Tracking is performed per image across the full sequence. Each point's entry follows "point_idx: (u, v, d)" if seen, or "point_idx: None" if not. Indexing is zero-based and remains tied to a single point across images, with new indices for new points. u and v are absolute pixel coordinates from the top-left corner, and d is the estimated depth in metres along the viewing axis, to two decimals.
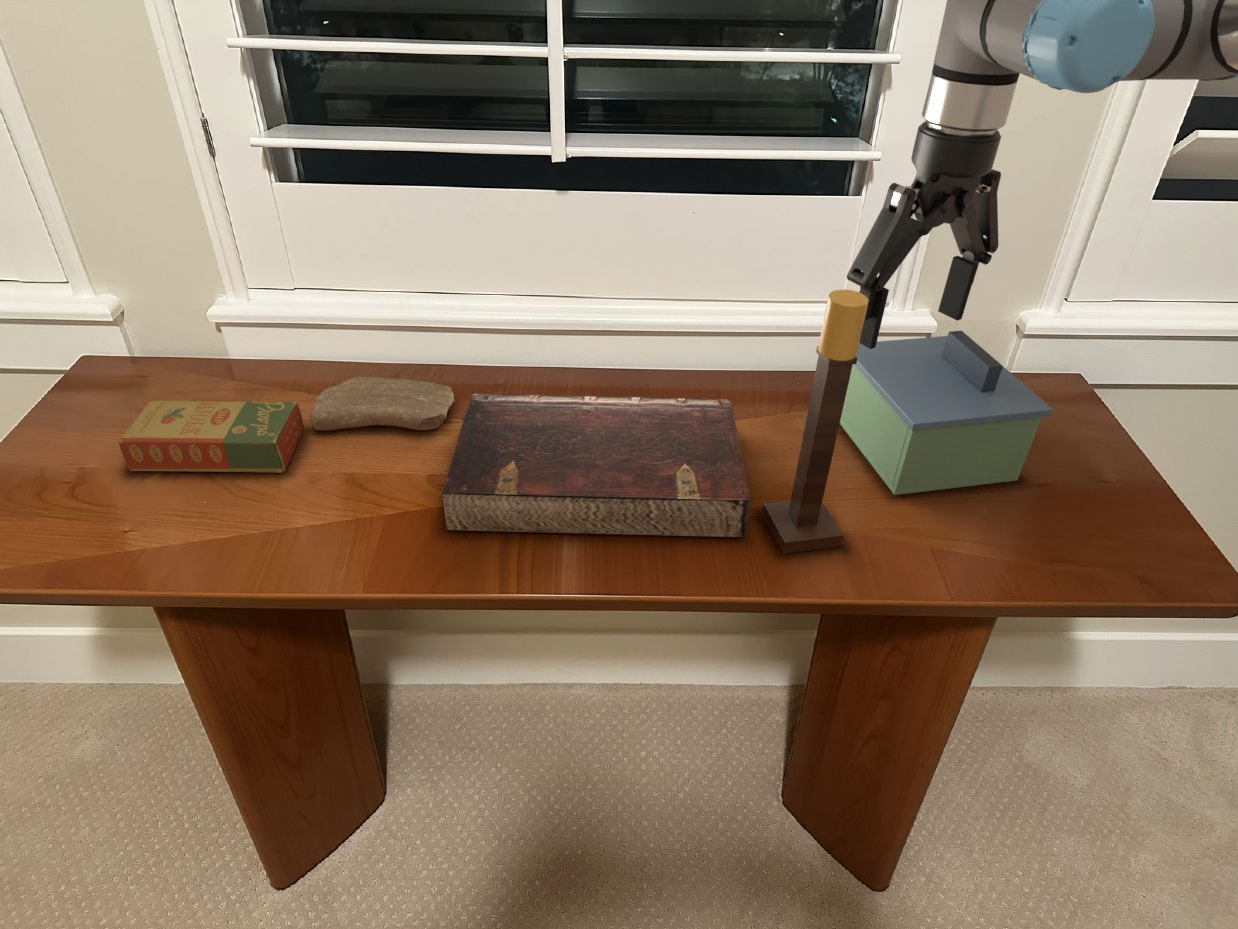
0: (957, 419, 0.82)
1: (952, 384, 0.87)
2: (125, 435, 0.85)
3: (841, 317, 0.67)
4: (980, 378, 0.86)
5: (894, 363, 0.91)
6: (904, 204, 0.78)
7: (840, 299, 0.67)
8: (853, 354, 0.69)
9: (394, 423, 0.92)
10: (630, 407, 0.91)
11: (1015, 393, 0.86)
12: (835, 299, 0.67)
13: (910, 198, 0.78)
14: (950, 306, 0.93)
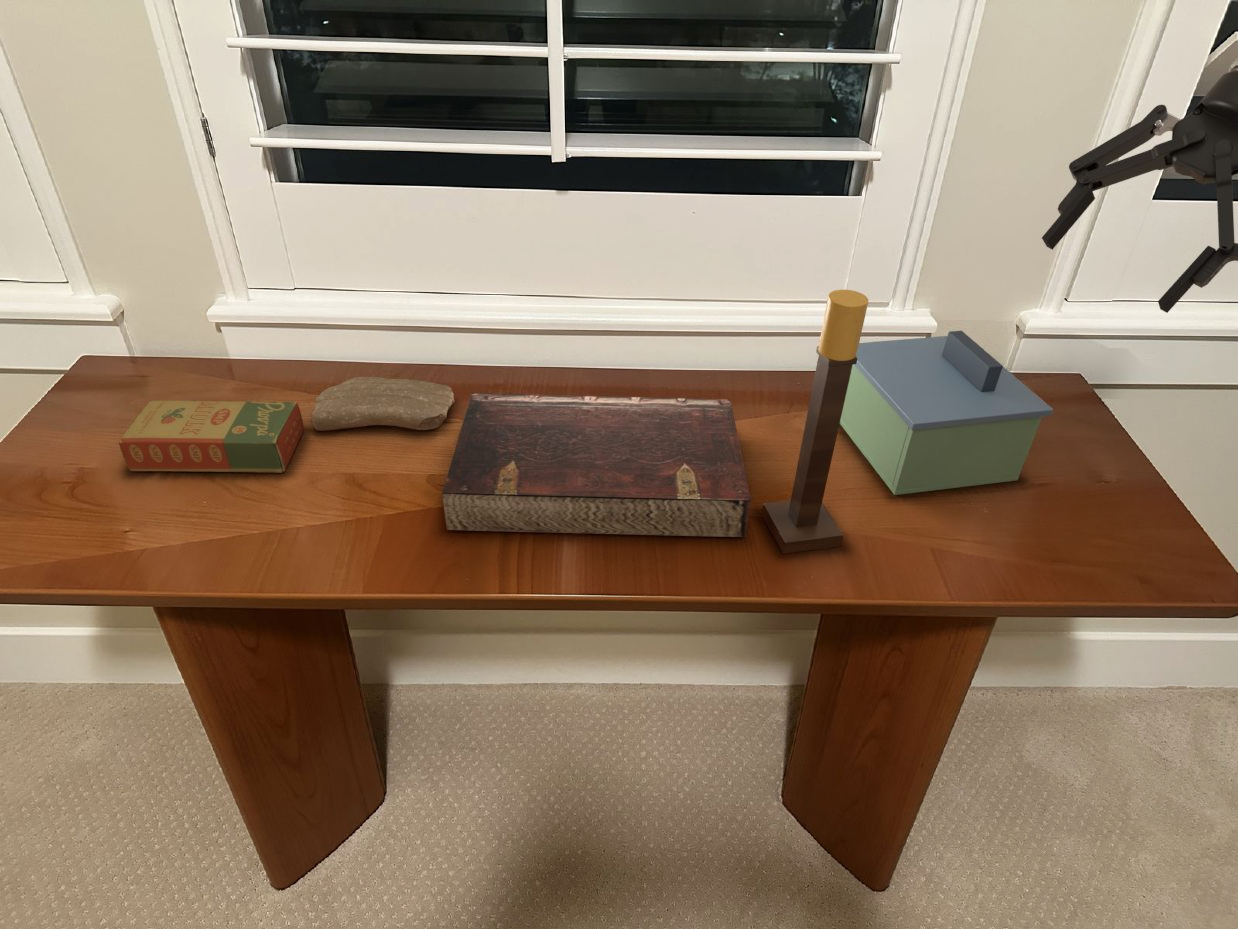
0: (957, 419, 0.82)
1: (952, 384, 0.87)
2: (125, 435, 0.85)
3: (841, 317, 0.67)
4: (980, 378, 0.86)
5: (894, 363, 0.91)
6: (1149, 113, 0.85)
7: (840, 299, 0.67)
8: (853, 354, 0.69)
9: (394, 423, 0.92)
10: (630, 407, 0.91)
11: (1015, 393, 0.86)
12: (835, 299, 0.67)
13: (1156, 110, 0.84)
14: None
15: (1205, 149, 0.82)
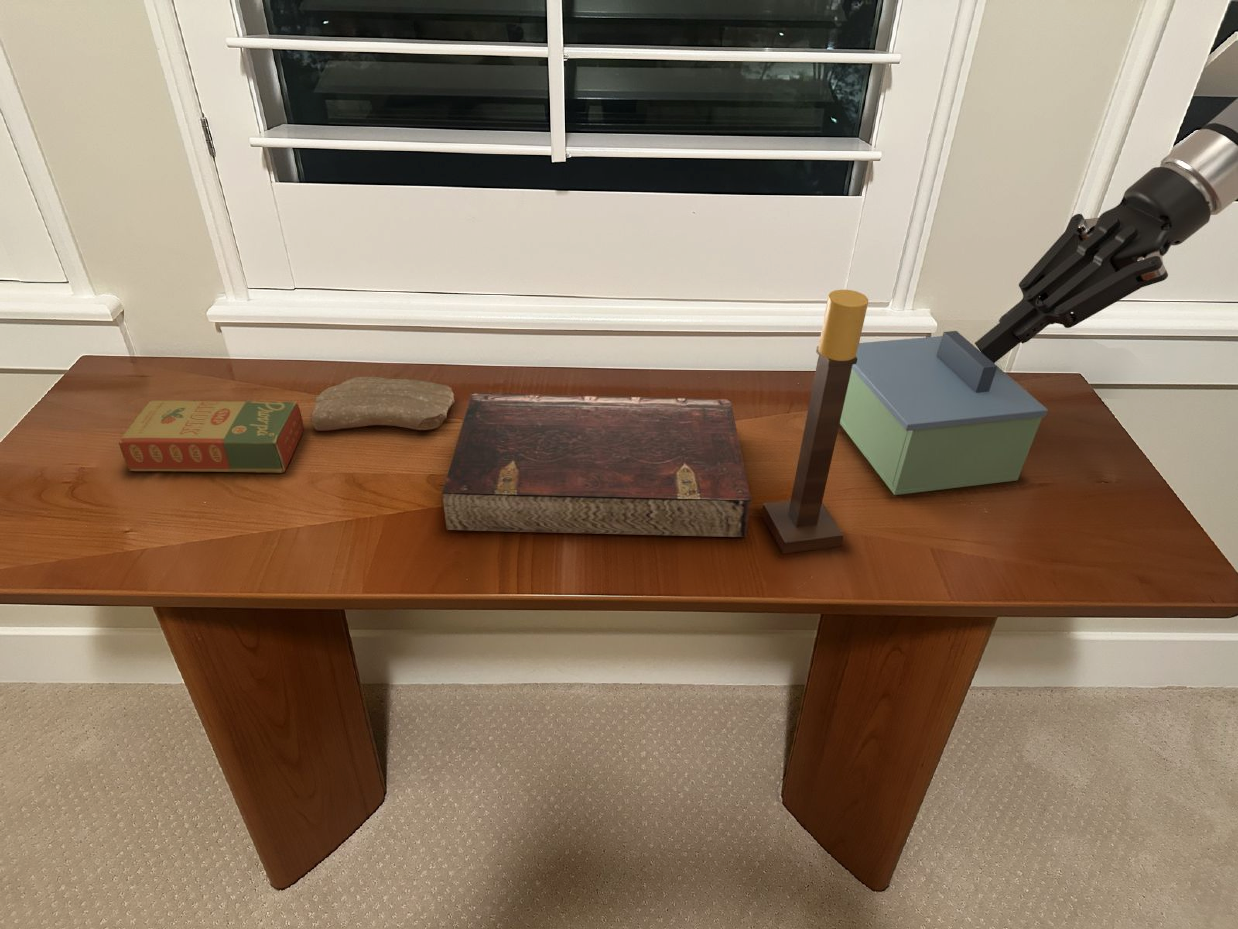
0: (951, 419, 0.82)
1: (947, 384, 0.87)
2: (125, 435, 0.85)
3: (841, 317, 0.67)
4: (974, 379, 0.86)
5: (888, 364, 0.90)
6: (1068, 224, 0.88)
7: (840, 299, 0.67)
8: (853, 354, 0.69)
9: (394, 423, 0.92)
10: (630, 407, 0.91)
11: (1010, 394, 0.86)
12: (835, 299, 0.67)
13: (1074, 219, 0.88)
14: None
15: None
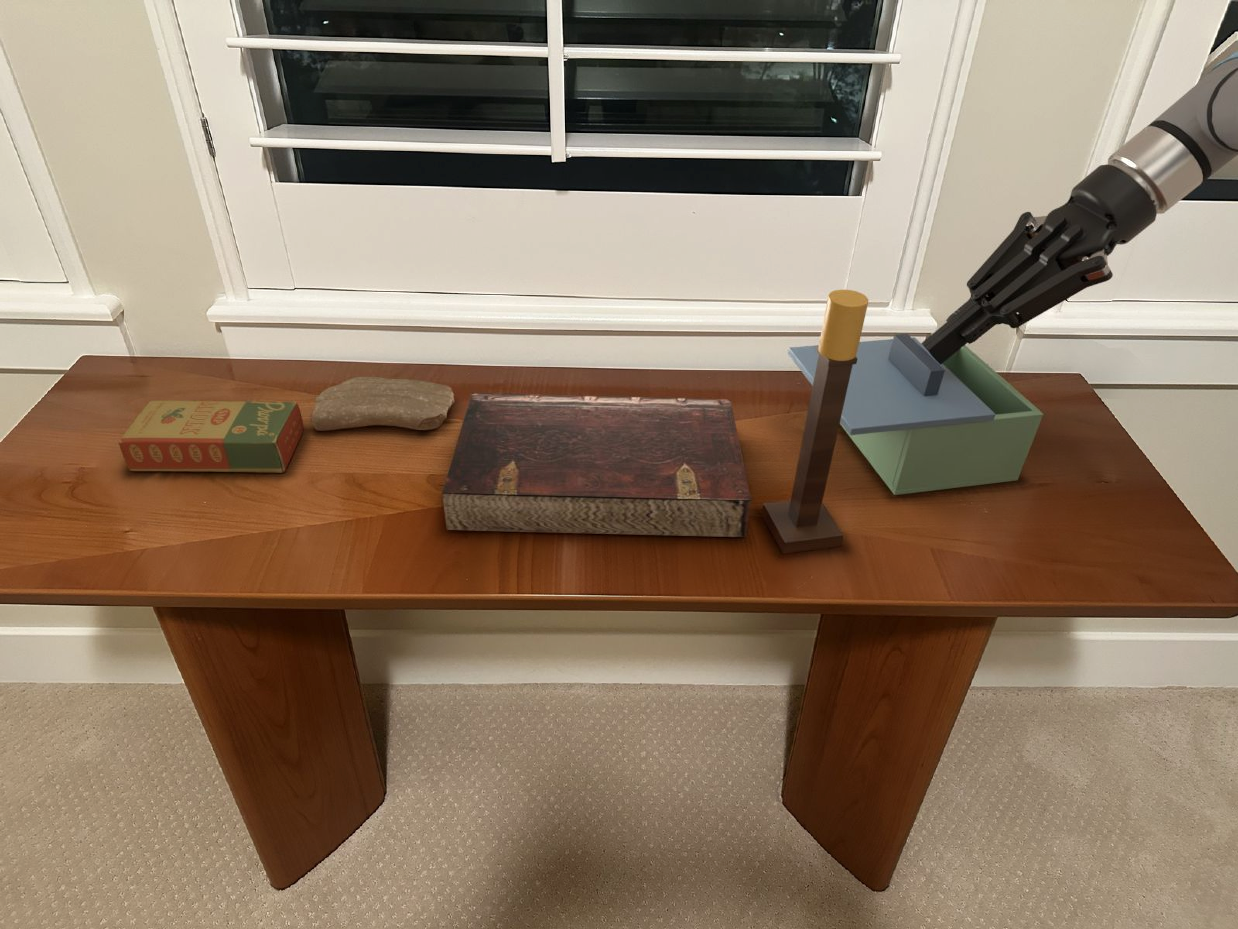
0: (896, 424, 0.81)
1: (895, 388, 0.86)
2: (125, 435, 0.85)
3: (841, 317, 0.67)
4: (922, 382, 0.85)
5: None
6: (1017, 222, 0.87)
7: (840, 299, 0.67)
8: (853, 354, 0.69)
9: (394, 423, 0.92)
10: (630, 407, 0.91)
11: (958, 397, 0.85)
12: (835, 299, 0.67)
13: (1023, 217, 0.86)
14: None
15: None
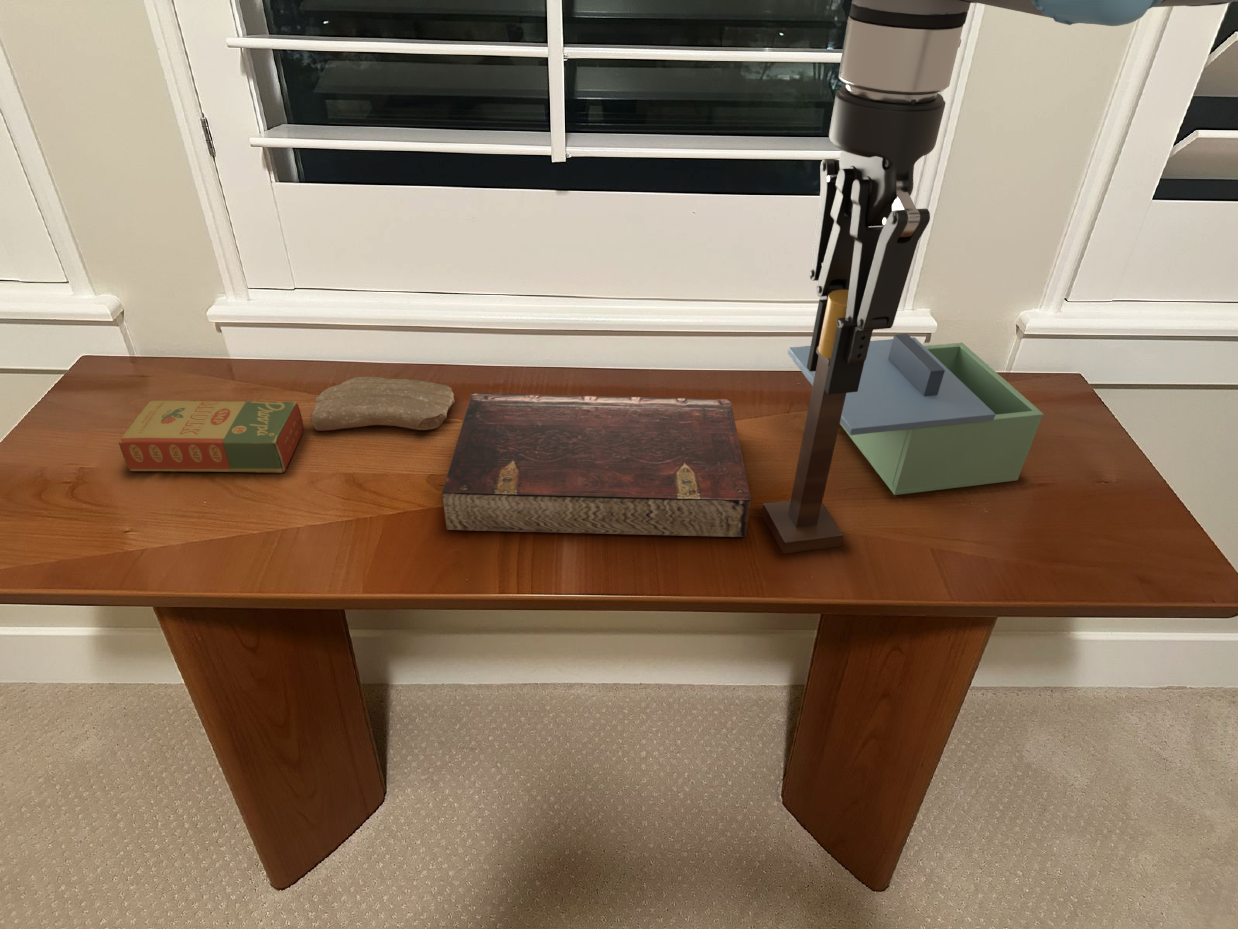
0: (896, 424, 0.81)
1: (895, 388, 0.86)
2: (125, 435, 0.85)
3: (841, 317, 0.67)
4: (922, 382, 0.85)
5: None
6: None
7: (840, 299, 0.67)
8: None
9: (394, 423, 0.92)
10: (630, 407, 0.91)
11: (958, 397, 0.85)
12: (835, 299, 0.67)
13: (822, 169, 0.67)
14: None
15: None
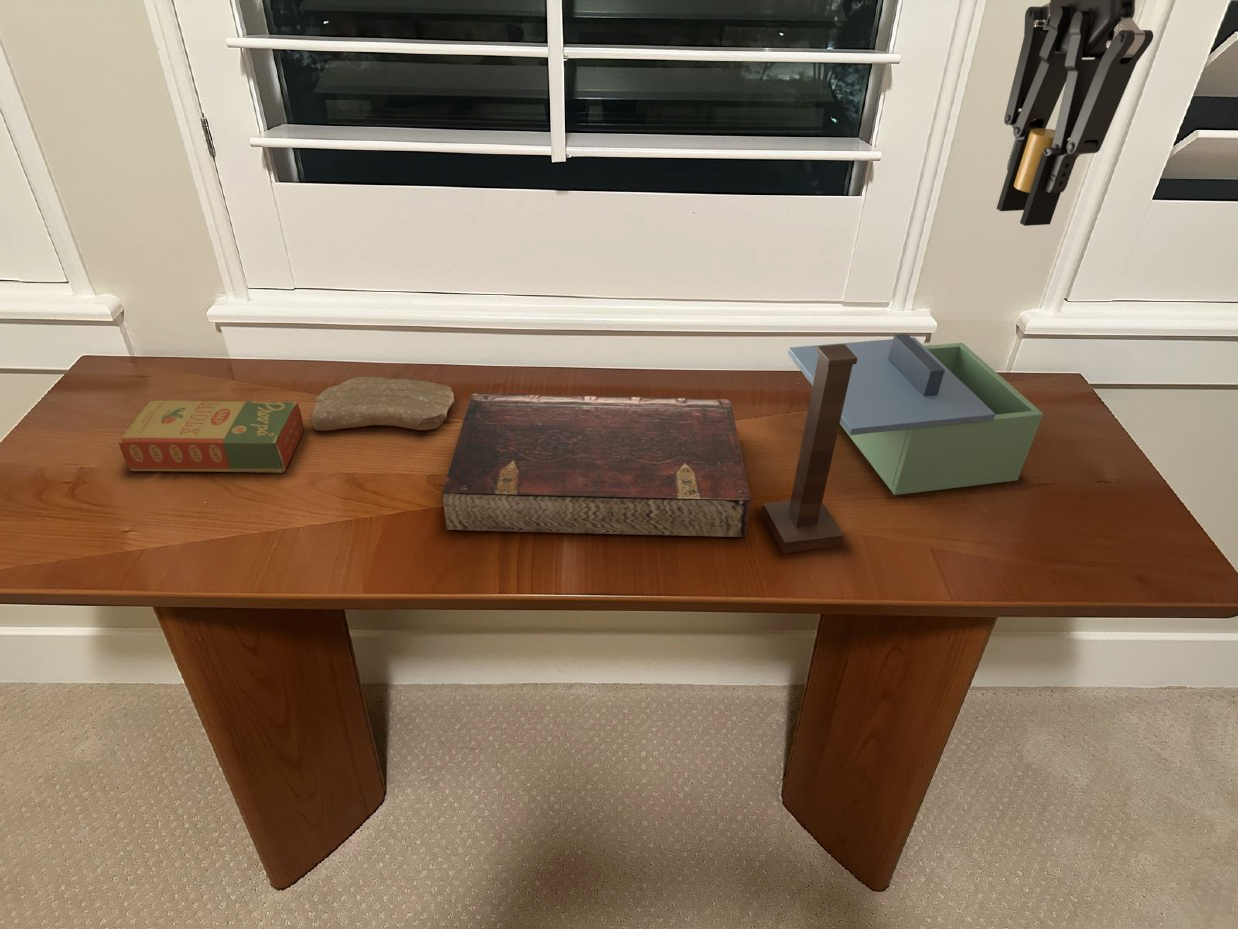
0: (896, 424, 0.81)
1: (895, 388, 0.86)
2: (125, 435, 0.85)
3: None
4: (922, 382, 0.85)
5: None
6: (1025, 24, 0.75)
7: (1042, 133, 0.74)
8: None
9: (394, 423, 0.92)
10: (630, 407, 0.91)
11: (958, 397, 0.85)
12: (1038, 133, 0.74)
13: (1027, 17, 0.74)
14: None
15: None
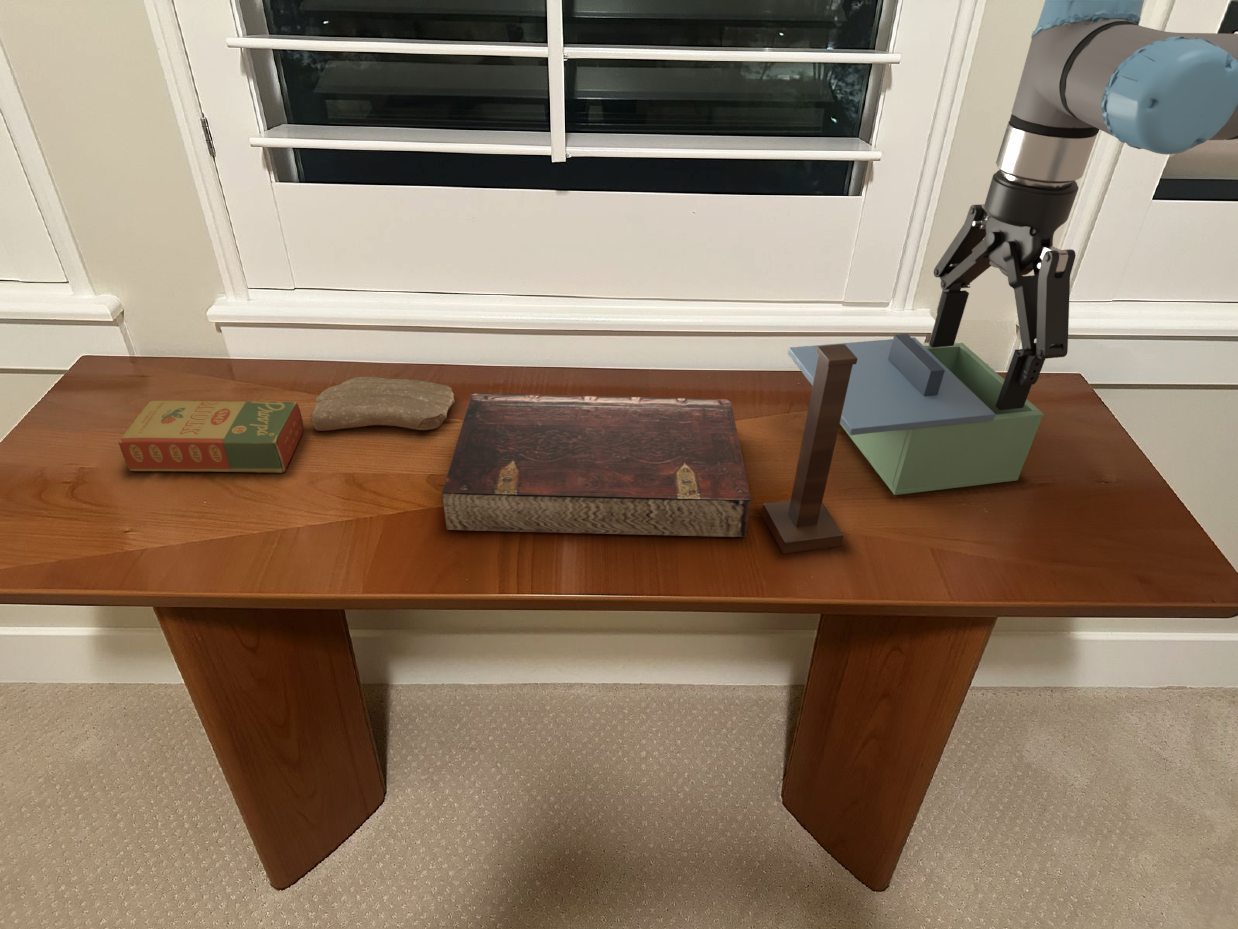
0: (896, 424, 0.81)
1: (895, 388, 0.86)
2: (125, 435, 0.85)
3: None
4: (922, 382, 0.85)
5: None
6: None
7: None
8: None
9: (394, 423, 0.92)
10: (630, 407, 0.91)
11: (958, 397, 0.85)
12: None
13: (970, 212, 0.85)
14: None
15: None
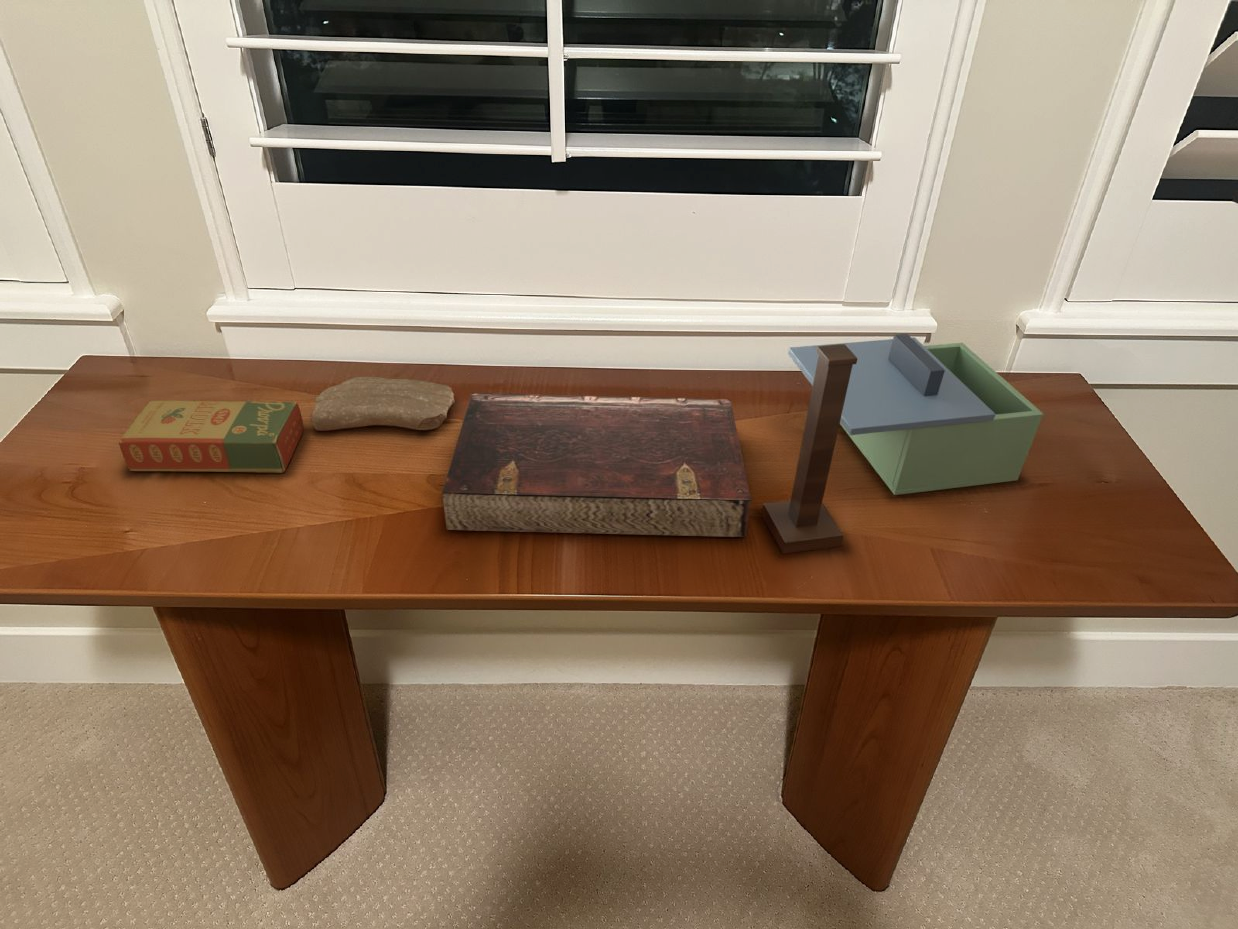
0: (896, 424, 0.81)
1: (895, 388, 0.86)
2: (125, 435, 0.85)
3: None
4: (922, 382, 0.85)
5: None
6: None
7: None
8: None
9: (394, 423, 0.92)
10: (630, 407, 0.91)
11: (958, 397, 0.85)
12: None
13: None
14: None
15: None
